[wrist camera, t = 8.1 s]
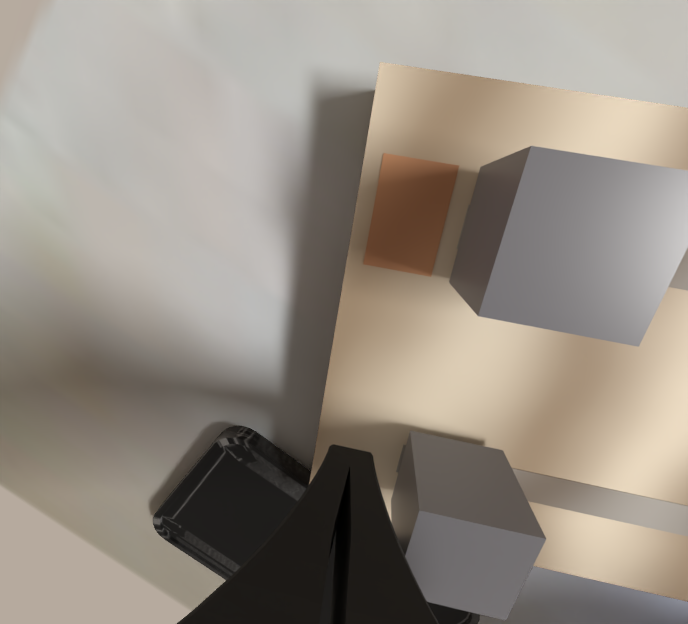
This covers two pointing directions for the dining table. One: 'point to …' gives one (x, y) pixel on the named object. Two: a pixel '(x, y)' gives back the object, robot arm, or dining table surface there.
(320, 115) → the dining table surface
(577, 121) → the switch board
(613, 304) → the switch tab
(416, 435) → the switch tab
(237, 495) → the phone
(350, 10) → the dining table surface
